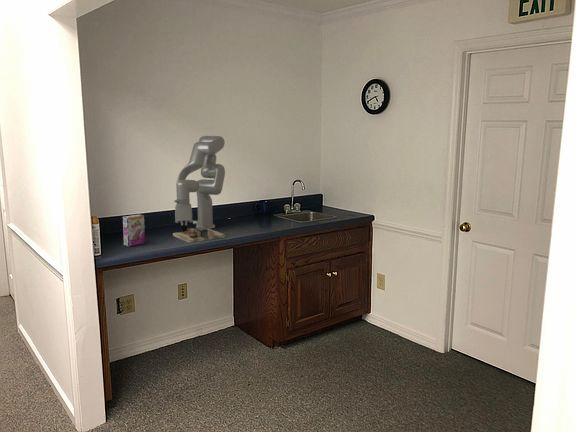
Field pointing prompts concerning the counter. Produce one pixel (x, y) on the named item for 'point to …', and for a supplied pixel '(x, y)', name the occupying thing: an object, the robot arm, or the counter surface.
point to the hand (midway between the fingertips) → (184, 231)
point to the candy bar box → (133, 230)
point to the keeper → (203, 232)
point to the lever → (192, 232)
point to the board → (199, 236)
